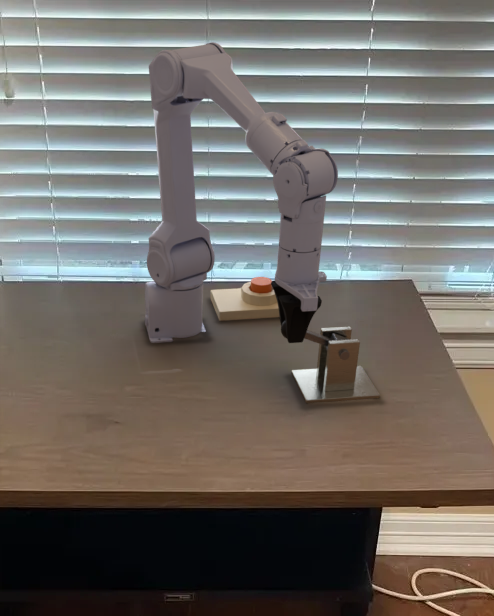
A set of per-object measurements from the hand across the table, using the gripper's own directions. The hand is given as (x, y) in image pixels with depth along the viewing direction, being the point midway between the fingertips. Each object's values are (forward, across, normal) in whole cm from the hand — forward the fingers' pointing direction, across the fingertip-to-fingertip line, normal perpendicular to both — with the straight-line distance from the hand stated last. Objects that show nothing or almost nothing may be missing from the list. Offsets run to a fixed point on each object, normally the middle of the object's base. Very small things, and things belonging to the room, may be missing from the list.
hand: (292, 336), depth 131 cm
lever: (+2, 0, -3) cm, 3 cm away
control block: (+9, +29, 0) cm, 30 cm away
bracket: (+9, 0, -7) cm, 12 cm away
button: (+6, +29, -2) cm, 30 cm away
